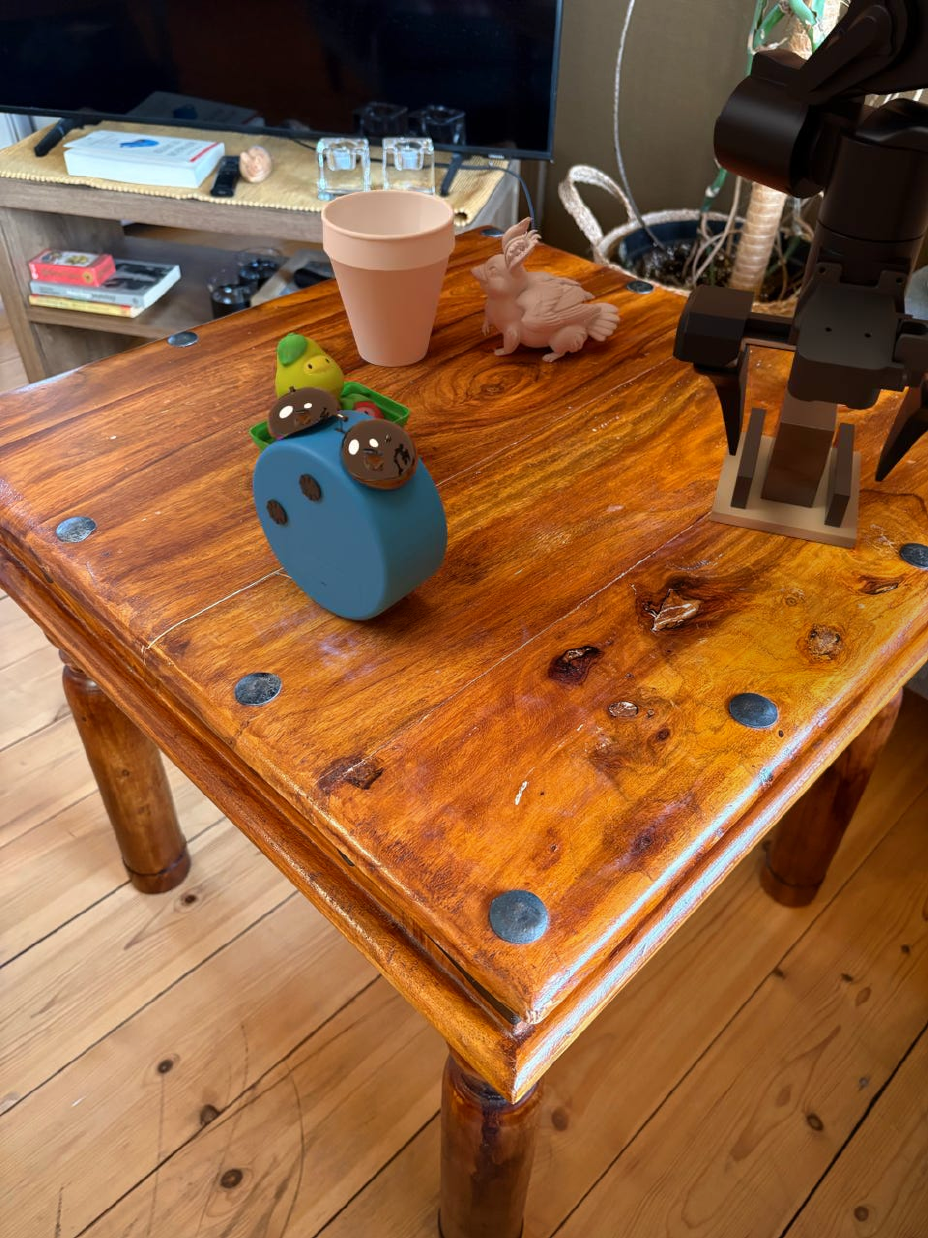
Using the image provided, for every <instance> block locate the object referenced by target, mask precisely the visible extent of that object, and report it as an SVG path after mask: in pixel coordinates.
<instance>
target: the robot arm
mask: <svg viewBox="0 0 928 1238" xmlns="http://www.w3.org/2000/svg"><path fill="white" fill-rule="evenodd" d="M749 72H750V73H749V74H748V75H747V76H746V77H745V78H743V79H742V80H741V81H740V82H739V83H738V84H737V85H736V86H735V88H734V89H733V90H732V91H731V93H730V95H729V96H728V98H727V99H726V102H725V103H724V105H723V108H722V110H721V113H720V115H719V116H718V117H716V120H715V125H714V129H713V139H712V144H713V151H714V152H713V153H714V157H715V158H716V161H717V163H718V165H719V166H720V167H721V168H722V169H723V170H724V171H726V172H728V173H731V174H733V175H735V176H739V177H741V178H743V179H746V180H749V181H751V182H753V183H755V184H758V185H761V186H764V187H766V188H769V189H772V190H775V191H777V192H780V193H781V194H785V195H787V196H790V197H791V198H795V199H799V200H806V199H811V198H813V197H815V196H816V195H818V194H820V193H822V192H823V196H822V199H821V203H820V207H819V212H818V216H817V220H816V224H815V228H814V232H813V236H812V241H811V245H810V249H809V252H808V257H807V260H806V266H805V270H804V272H803V273H804V274H803V278H802V283H801V286H800V291H799V295H798V297H797V300H796V304H795V308H794V309H795V310H794V313H793V317H791V316H784V315H776V314H770V313H763V312H755V311H753V306H754V301H755V297H756V296H755V295H756V291H754V290H745V289H739V288H732V287H726V286H725V287H724V286H718V285H711V284H710V285H709V284H703V283H701V284H699V285H698V286H696V287H695V288H694V289H693V290H692V291H691V292H689V294H688V296H687V299H686V301H685V304H684V306H683V308H682V311H681V313H680V316H679V318H678V323H677V327H676V331H675V338H674V344H673V349H672V356H673V358H675V359H676V360H677V361H679V362H683V363H688V364H689V363H690V364H692V371H693V372H694V373H695V374H696V375H699V376H704V377H707V378H708V379H709V380H710V381H711V383H712V384H713V385H714V388H715V390H716V394H717V396H718V400H719V403H720V408H721V413H722V418H723V425H724V430H725V431H724V432H725V437H726V443H727V445H728V449H729V454H730V455H731V456H736V453H737V449H738V445H739V440H740V436H741V432H743V426H744V418H745V417H744V416H745V407H746V406H745V405H746V395H747V384H748V375H749V374H748V373H749V362H750V354H751V347H758V348H763V349H770V350H778V351H782V352H783V351H784V352H791V353H793V357H792V362H791V366H790V371H789V375H788V379H787V381H788V384H787V383H786V384H787V389H788V392H789V394H790V395H791V396H792V397H794V398H796V399H798V400H801V401H806V402H812V401H822V402H828V403H834V404H837V405H842V406H845V407H846V408H848V409H849V410H855V411H866V410H868V409H869V410H870V409H871V408H873V407H874V406H875V405H876V404H877V402H878V399H879V397H880V394H881V392H882V391H883V390H884V391H891V392H898V393H904V391H905V388H908V389H907V391H906V392H905V395H904V398H903V399H902V402H901V405H900V406H899V409H898V411H897V414H896V416H895V418H894V421H893V423H892V426H891V428H890V430H889V433H888V435H887V437H886V440H885V442H884V444H883V447H882V449H881V451H880V455H879V459H878V462H877V465H876V469H875V472H874V482H876V483H882V482H883V481H884V480H885V479H886V478H887V476H888V475H889V474H890V473H891V472H892V471H893V470H894V469H895V467H896V466H897V465H898V464H899V463H900V461H901V460H902V459H904V456H905V455H906V454H907V453H908V452H909V451H910V450H911V449H912V447H913V446H914V445H915V444H916V443H917V442H918V441H919V439H921V438H922V437H923V436H924V435H925V434H927V432H928V319H923V318H914V315H913V314H909V313H906V296H907V292H908V290H909V287H910V283H911V280H912V277H913V273H914V271H915V268H916V265H917V261H918V258H919V254H920V252H921V249H922V245H923V243H924V239H925V235H926V233H927V230H928V103H926V102H923V101H920V100H919V101H918V100H914V99H911V98H908V97H897V98H893V99H890V100H888V101H886V102H884V103H883V104H881V105H879V106H877V107H876V106H872V105H869V104H866V97H867V96H870V95H874V96H889V95H895V94H901V93H907V92H914V91H920V90H927V89H928V0H850V2H849V4H848V6H847V11H846V12H845V14H843V16H842V17H841V18H840V19H839V21H838V22H837V23H836V25H835V26H834V27H833V28H832V29H831V31H830V32H829V33H828V34H827V35H826V37H824V39H823V40H822V41H821V42H820V44H819V45H818V46H817V47H816V49H814V51H813V52H812V54H810V56H808V58H807V59H806V58H804V57H802V56H801V55H799V54H798V53H796V52H794V51H792V50H789V49H784V48H781V47H779V48H773V49H766V50H760V51H756V52H755V53H754V54H753V56H752V61H751V66H750V71H749Z"/></svg>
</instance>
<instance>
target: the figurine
mask: <svg viewBox="0 0 928 1238" xmlns="http://www.w3.org/2000/svg"><path fill="white" fill-rule="evenodd" d="M533 219H534V218H533V217H530V216H527V217H526V218H524V219H522V220H521V221H520V222H518V223H517V224H512V226H509V228H508V229H507V230H506V232H504V234H503V236H502V238H501V249H502V252H503V253H498V254H494V255H492V257H490V258H489V259H487V261H485V262H484V263H481V264H479V265H477V266H474V267H472V268H471V269H470V273H471V274H470V275H472V277H473V278H474V279H475V280H476V281H477V282H478V283H479V284H480V287H481V289H482V291H483V293H484V294H485V295H486V299H485V301H484V314H485V317H484V320H483V324H482V327H481V332H482V333H483V334H484V336H487V334H489V333H490V328H491V327H495V328H496V330H497V331H499V332H500V333H501V334H502V335H503V347H500V348H497V349H496V350H495V349H494V351H493V352H492V353H493V354H494V355H495V356H497V357H500V356H506V355H510V354H512V353H514V351H515V350H516V349H518V347H519V345H520V344H522V345H524V346H526V347H529V348H533V349H536V348H537V349H538V348H540V349H541V348H548V347H550V349H551V350H552V351H553V352H550V353H547V354H545V355H544V356H542V357H541V358H542V359H541V361H543V362H544V363H545V362H546V363H547V362H548V363H553V361H555V360H557V359H559V358H561V357H563V356H565V355H566V353H568V352H570V353H576V352H578V350H582V349H583V345H584V343H585V341H587V340H588V336H589V337H591V338H592V339H594V340H595V341H597V342H604V341H606V338H607V337H610V336H612V335H613V333H614V331H615V330H616V329H617V328H618V326H617V323H620V321H621V318H620V316H619V315H617V314H619V313H620V309H619V308H618V307H617V306H616V305H614V304H611V303H608V302H594V303H582V302H584V301H585V300H586V301H587V300H594V299H595V298H596V297H595V296H594V294H592V293H591V292H589V291H586V290H585V289H584V288H583V287H582V284H581V283H580V282H578V281H576V280H573V279H570V278H568V277H564V276H556V275H554V274H553V273H551V272H548V271H542V270H541V271H540V270H538V271H531V272H529V271H528V272H527V270H526V268H525V267H524V265H523V263H524V262H525V261H527V259H529V257H530V256H531V255H532V253H533V252H534V250H535V248H536V245H537V244H539V240H538V239H542V236H541V235H540V234H538V233H536V232H538V230H537V229H531V230H530V231H529V232H528V231H527V230H528V229H529V226H530V223H531V222H532V221H533Z"/></svg>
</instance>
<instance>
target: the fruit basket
mask: <svg viewBox="0 0 928 1238" xmlns="http://www.w3.org/2000/svg"><path fill="white" fill-rule="evenodd" d="M276 366H277V367H276V374H275V378H274V379H275V381H274V385H275V387H274V388H275V393H276V396H277V400H278V399H279V398H280V397H281V396H283V395H285V394H287V393H289V392H290V390H289V387H291V386H294V389H295V390H296V389H299V388H302V387H318V388H322V389H324V390H327V391H328V392H330V393H331V394H333V395H334V396H335V397H336V399H337V400H338V402H339V404H340V407H341V410H340V411H342V410H352V411H358V412H361V413H365V414H368V415H370V416H373V417H375V418H379V419H385V420H388V421H391V422H394V423H395V424H397V425H399V426H400V427H402V428H403V429H404V430H405V426H406V425H407V423H408V420H409V419H410V415H411V409H409V407H407V406H406V405H404V404H402V403H400V402H397V401H396V400H393V399H391V398H389V397H388V396H386V395H384V394H381V393H380V392H378V391H375V390H374V389H372V388H370V387H368V386H366V385H364V384H361V383H360V382H357V381H345V379H346V378H345V375H344V373H343V370H342V369H341V367H340V366H339V364H338V363H337V362H336V360H334V359H333V357H331V356H330V355H329V354H327V353H326V352H325V351H324V350H323V349H322V347H321V346H320V345H319V344H318V342H316V341H315V340H314V339H312V338H310V337H307V336H305V335H302V334H296V332H294V331H293V332H290V333H287V334H286V336H284V337H282V338H281V339H280V340H279V342H278V343H277V345H276ZM248 432H249V435H250V437H251V439H252V441H253V443H254V444H255V446H257V448H258V449H259V451H260V454H261V453H262V452H263V451H264V449H265V448H267V447H268V446H269V445H270V444H272V443H274V442H276V441H278V440H280V439H282V438H284V437H286V436H288V435H290V434H291V433H290V434H287V435H283V436H279V437H271V436H270V433H269V431H268V427H267V418H266V419H265V420H263V421H260V422H259V423H257V424H255V425H253V426H252V427H250V428H249V430H248Z"/></svg>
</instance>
